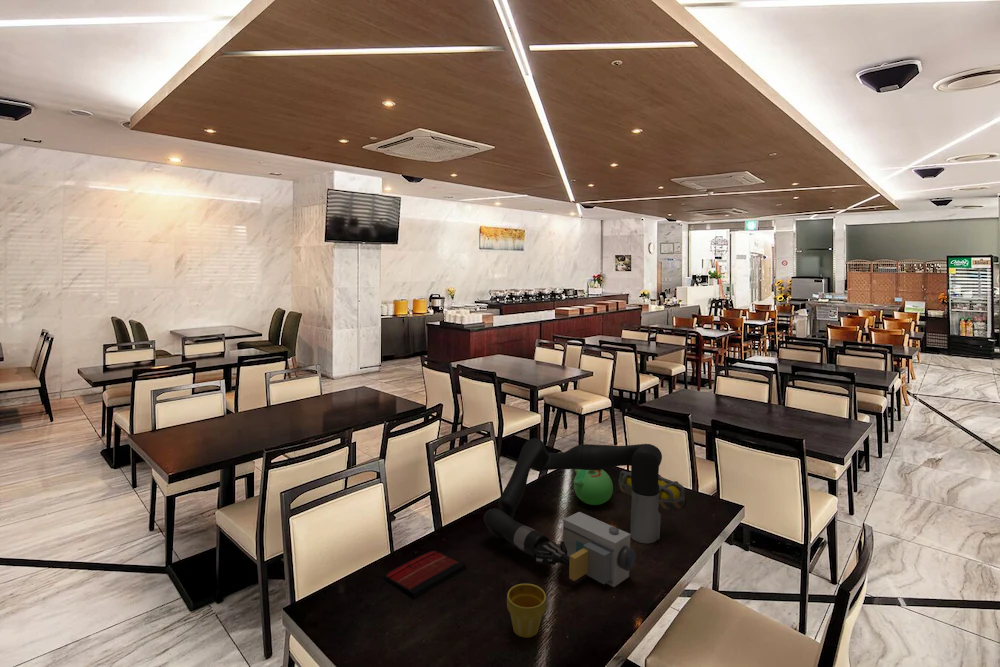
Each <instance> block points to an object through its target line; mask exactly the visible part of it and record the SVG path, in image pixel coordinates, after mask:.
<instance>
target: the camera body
mask: <svg viewBox="0 0 1000 667" xmlns="http://www.w3.org/2000/svg"><path fill="white" fill-rule="evenodd" d="M562 520H563V523H562V524H563V525H562V526H563V528H562V530H563V531H562V532H563V533H562V535H563V537H562V541H563V542H564V543H565V546H566V548H567V556H569V557H570V556H571V555H572V554H574V553H576V552H578V551H579V550H581V549H583V545H585V544H586V543H588V542H592V543H594V544H596V545H598V546H600V547H602V548H604V549H606V550H608V551H610V552H611V577H610V581H608V582H607V583H606V584H607V585H608V586H611V587H613V588H615V587H616V586H618V585H619V584H621V583H622V582H623V581H625V580H627V579H628V578H629V577H630V570H631V569H633V567H634V565H635V564H636V560H637V551H636V550H635V549H634V548H632V547H631V536H630V535H631V534H630V533H629V532H627V531H624V530H623V529H620V528H618V527H616V526H613V525H611V524H609V523H606V522H604V521H602V520H600V519H599V520H598V519H597V518H594V517H592V516H590V515H588V514H585V513H583V512H581V511H578V512H576V513H574V514H572V515H570V516H567V517H565V518H563V519H562Z"/></svg>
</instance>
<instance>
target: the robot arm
mask: <svg viewBox="0 0 1000 667" xmlns="http://www.w3.org/2000/svg"><path fill="white" fill-rule="evenodd" d="M662 459H663V453H662V451H661V450H660V448H659V447H657V446H656V445H653V444H651V443H641V444H639V443H637V444H628V445H615V444H614V445H611V444H588V443H586V444H584V443H583V444H578V445H574V446H572V447H571V448H569V449H568V450H566V451H564V452H548V450H547V447H546V446H545V443H544V442H543V440H541V439H540V438H536V437H535V438H530V439H528V440H526V441H525V443H524V444H523V446H522V448H521V450H520V453H519V455H518V459H517V461H516V464H515V467H514V469H513V472H512V474H511V476H510V477H509V481H508V482H507V483H506V486H505V487H504V489H503V491H502V493H501V495H500V497H499V498H498V502H497V505H498V508H497V507H496V508H490V509H488V510H487V511H486V512H485V513H484V515H483V523H484V525H485V526H486V527H487V529H488V531H489V532H490V533H491V535H492V536H493V537H494V538H496V539H502V538H504V540H506V541H507V542H508V543H510V544H511V545H513V546H515V547H517V549H519V550H520V551H522V552H524V553H525V554H527V555H529V556H531V557H533V558H535V560H536V564H539V565H548V566H550V565H551V566H557V564H558V565H559V564H562V565H563V566H565V567H567V568H569V562H570V557H569V556H567V548H566V546H565V543H564V542H563V540H561V541H560V543H556V542H554V541H551V540H550V539H549V538H548V537H547V535H545V534H544V533H542V532H540V531H538V530H536V529H534V528H532V527H529V526H526V525H524V524H523V523H521V522H518V521H516V520H514V518H515V514H516V510H517V508H518V507H519V506H518V505H520V503H521V501H522V499H523V497H524V494H525V492H526V488H527V482H528V478H529V474H530V470H533V471H538V472H540V471H551V470H553V471H554V470H574V469H580V470H607V469H611V468H616V467H621V466H627V467H629V466H630V472H631V483H632V496H631V502H630V503H631V505H630V506H631V507H630V508H631V509H630V530H629V531H630V533H629V534H631V535H630V539H632V540H633V541H635V542H637V543H640V544H653V543H655V542H656V541H658V540H660V535H661V519H662V517H661V512H659V508H658V506H659V484H658V477H659V475H660V474H659V470H660V465H661V463H662Z"/></svg>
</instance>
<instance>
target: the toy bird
mask: <svg viewBox="0 0 1000 667" xmlns="http://www.w3.org/2000/svg"><path fill="white" fill-rule="evenodd" d="M573 471H574V472H575V474H576V475H575V476H574V479H573V489H574V492H575V495H576V496H577V498H578V499H579V500H580V501H581V502H583V503H584V504H587V505H590V506H591V505H592V506H599V505H600V506H601V505H602V504H604V503H606V502H608V501H609V500H610V499H611V497H612V495H613V492H614V485H613V481H612V479H611V477H610V475H609V474H608V473H607V472H606V471H605V469H603V470H580V469H573Z"/></svg>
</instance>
